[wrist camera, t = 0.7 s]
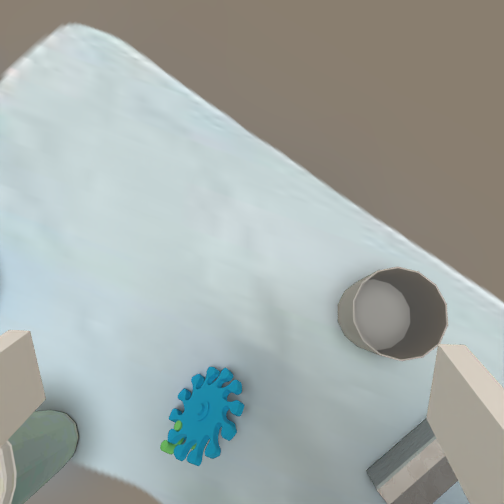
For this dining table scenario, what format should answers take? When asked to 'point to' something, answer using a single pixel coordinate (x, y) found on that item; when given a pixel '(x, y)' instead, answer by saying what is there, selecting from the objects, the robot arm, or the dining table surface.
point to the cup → (394, 314)
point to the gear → (203, 417)
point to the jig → (413, 469)
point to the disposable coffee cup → (35, 454)
